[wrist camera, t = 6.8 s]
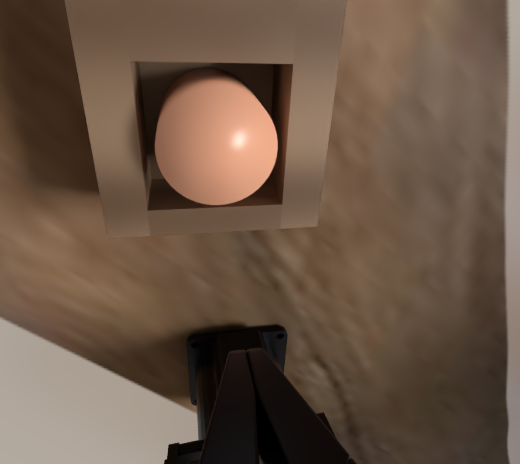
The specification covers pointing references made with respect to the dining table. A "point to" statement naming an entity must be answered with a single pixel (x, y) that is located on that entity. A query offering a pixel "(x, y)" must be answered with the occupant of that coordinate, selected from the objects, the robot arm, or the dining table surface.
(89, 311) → the dining table surface
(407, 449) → the dining table surface
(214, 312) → the dining table surface
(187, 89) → the peach rounded dome
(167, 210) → the button console
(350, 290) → the dining table surface
